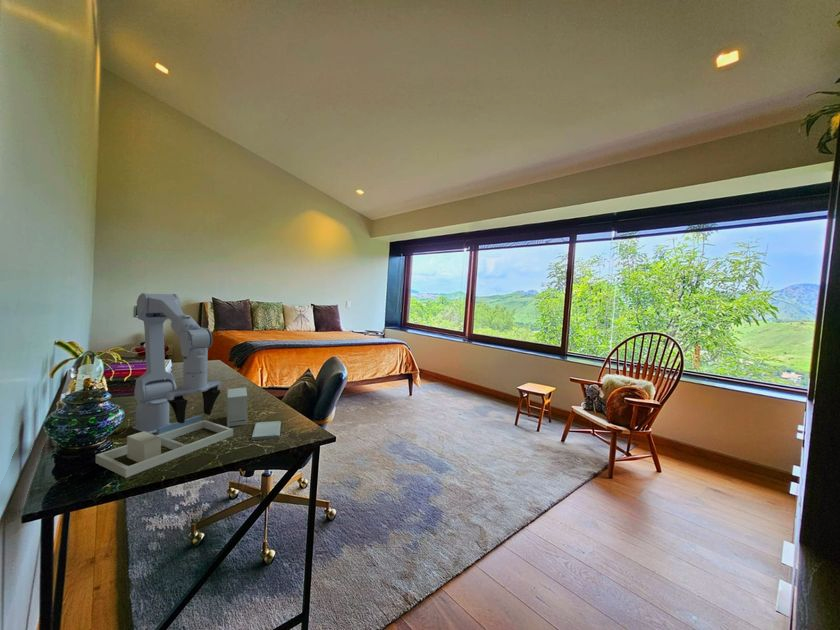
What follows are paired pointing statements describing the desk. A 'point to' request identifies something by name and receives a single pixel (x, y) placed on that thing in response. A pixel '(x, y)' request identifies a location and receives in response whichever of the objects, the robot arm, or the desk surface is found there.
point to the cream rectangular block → (143, 446)
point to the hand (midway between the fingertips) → (194, 418)
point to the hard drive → (266, 430)
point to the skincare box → (236, 407)
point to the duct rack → (166, 440)
